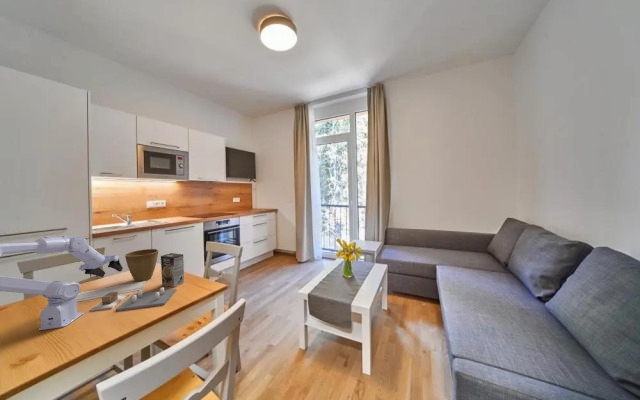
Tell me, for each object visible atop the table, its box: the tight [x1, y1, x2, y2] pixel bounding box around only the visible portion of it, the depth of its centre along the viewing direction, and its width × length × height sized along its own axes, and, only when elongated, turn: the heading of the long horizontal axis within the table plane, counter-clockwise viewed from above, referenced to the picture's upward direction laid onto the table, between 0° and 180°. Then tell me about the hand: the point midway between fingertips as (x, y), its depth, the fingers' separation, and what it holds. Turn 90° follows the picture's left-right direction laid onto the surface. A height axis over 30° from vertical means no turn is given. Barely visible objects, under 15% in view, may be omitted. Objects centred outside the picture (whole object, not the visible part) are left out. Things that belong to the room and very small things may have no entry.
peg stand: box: [115, 286, 177, 312], centre depth 101 cm, size 14×18×4 cm
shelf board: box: [89, 292, 129, 313], centre depth 99 cm, size 12×8×5 cm, turn 14°
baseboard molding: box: [76, 280, 147, 303], centre depth 109 cm, size 31×3×12 cm
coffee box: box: [160, 252, 185, 288], centre depth 118 cm, size 9×6×16 cm
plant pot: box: [124, 248, 159, 283], centre depth 125 cm, size 15×15×16 cm
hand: (112, 272), depth 104 cm, fingers open, 7 cm apart
